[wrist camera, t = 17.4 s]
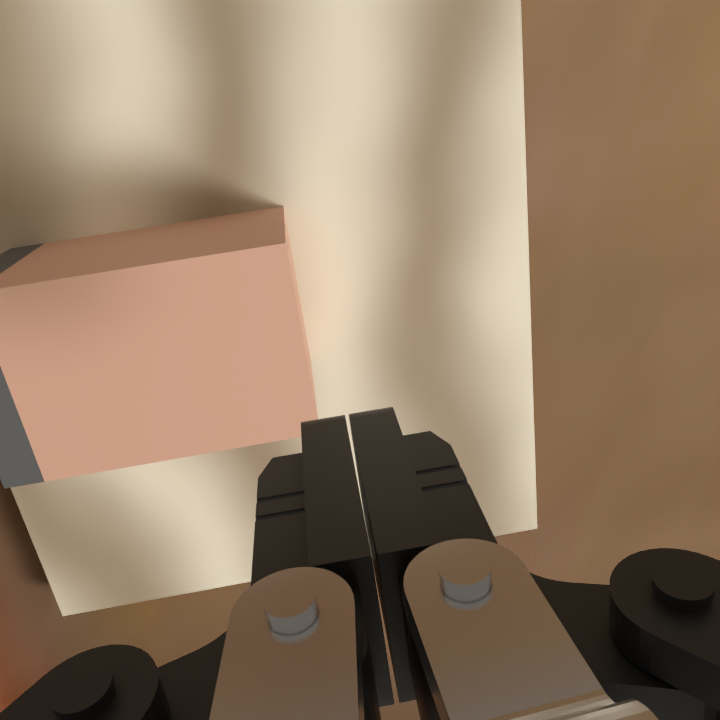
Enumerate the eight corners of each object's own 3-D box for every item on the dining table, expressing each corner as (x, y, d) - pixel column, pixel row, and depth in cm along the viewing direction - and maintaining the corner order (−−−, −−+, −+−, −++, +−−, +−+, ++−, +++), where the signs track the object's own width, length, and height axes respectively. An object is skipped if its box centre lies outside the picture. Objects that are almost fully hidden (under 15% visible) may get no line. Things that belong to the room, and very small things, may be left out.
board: (496, -159, 18) (515, -180, 17) (523, 505, 27) (537, 528, 25) (-184, -74, 17) (-224, -87, 16) (74, 587, 26) (62, 616, 24)
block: (285, 242, 15) (-74, 300, 15) (319, 433, 17) (4, 488, 17) (283, 206, 20) (9, 248, 19) (310, 359, 22) (63, 400, 21)
